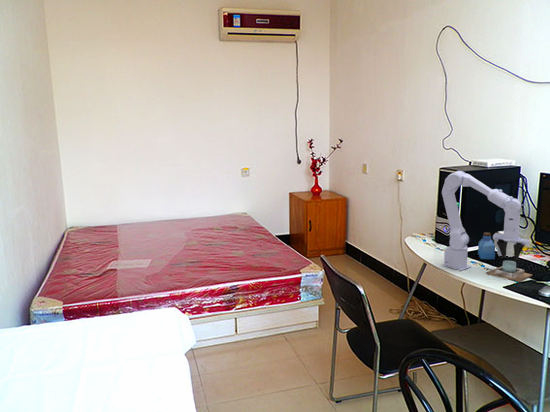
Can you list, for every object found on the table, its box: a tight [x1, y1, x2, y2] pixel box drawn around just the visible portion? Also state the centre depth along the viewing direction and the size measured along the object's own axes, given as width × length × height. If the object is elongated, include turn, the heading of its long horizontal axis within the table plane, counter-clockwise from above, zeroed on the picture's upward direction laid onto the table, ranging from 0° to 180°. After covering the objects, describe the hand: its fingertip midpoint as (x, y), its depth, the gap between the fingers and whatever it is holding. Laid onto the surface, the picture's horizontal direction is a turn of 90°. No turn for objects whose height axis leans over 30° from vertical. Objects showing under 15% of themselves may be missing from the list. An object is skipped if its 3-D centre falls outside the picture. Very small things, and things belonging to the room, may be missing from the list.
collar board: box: [486, 265, 533, 283], centre depth 188 cm, size 14×11×2 cm
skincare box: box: [496, 230, 514, 258], centre depth 212 cm, size 6×4×12 cm
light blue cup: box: [502, 260, 517, 274], centre depth 188 cm, size 5×5×5 cm
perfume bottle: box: [477, 232, 496, 260], centre depth 212 cm, size 6×6×12 cm
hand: (509, 258), depth 187 cm, fingers open, 5 cm apart
